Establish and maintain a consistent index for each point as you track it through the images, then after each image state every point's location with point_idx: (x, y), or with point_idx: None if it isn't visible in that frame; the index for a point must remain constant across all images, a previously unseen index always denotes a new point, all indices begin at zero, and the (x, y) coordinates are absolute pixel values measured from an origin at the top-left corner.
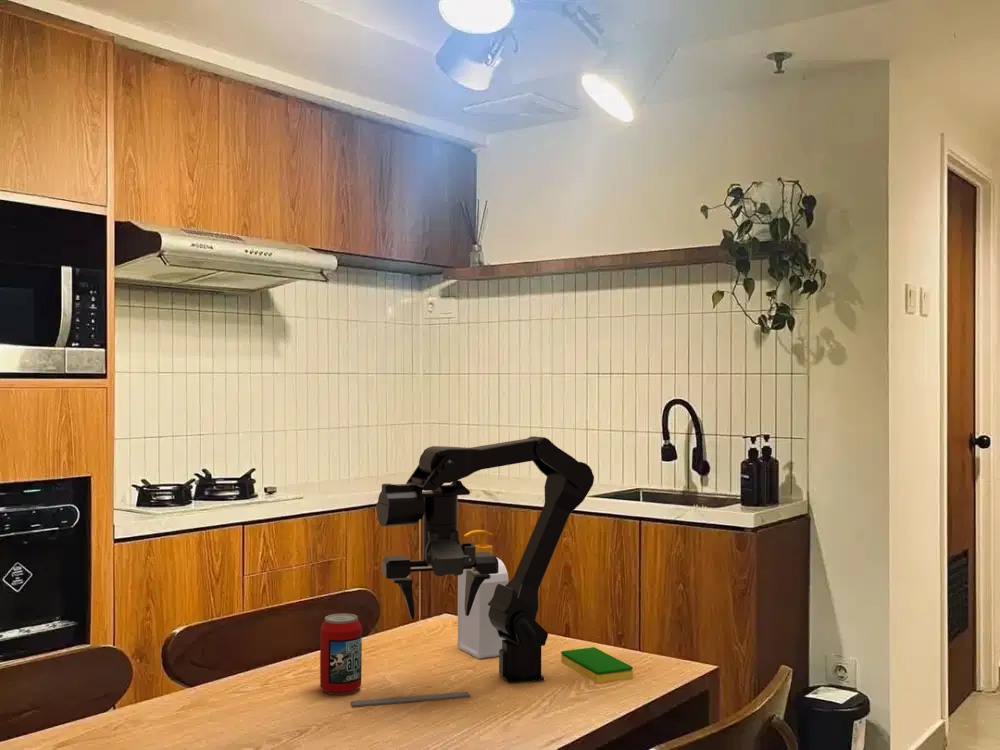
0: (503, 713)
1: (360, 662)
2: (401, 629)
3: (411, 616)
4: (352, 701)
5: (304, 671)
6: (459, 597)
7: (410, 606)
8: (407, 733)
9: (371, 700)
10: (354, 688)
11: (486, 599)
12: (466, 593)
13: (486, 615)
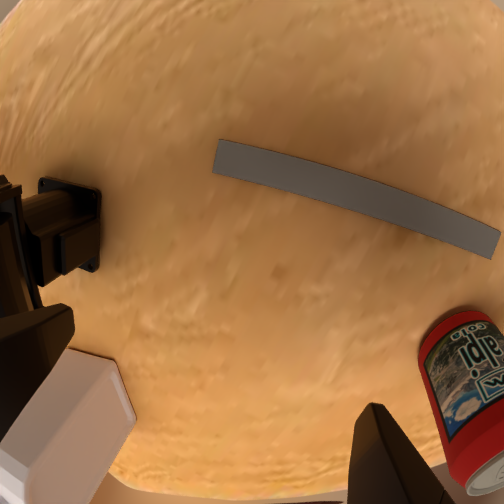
0: (203, 3)
1: (455, 361)
2: (195, 495)
3: (387, 413)
4: (489, 255)
5: (426, 441)
6: (95, 483)
7: (412, 457)
8: (461, 11)
9: (459, 239)
10: (457, 314)
11: (37, 434)
12: (3, 401)
13: (56, 411)
